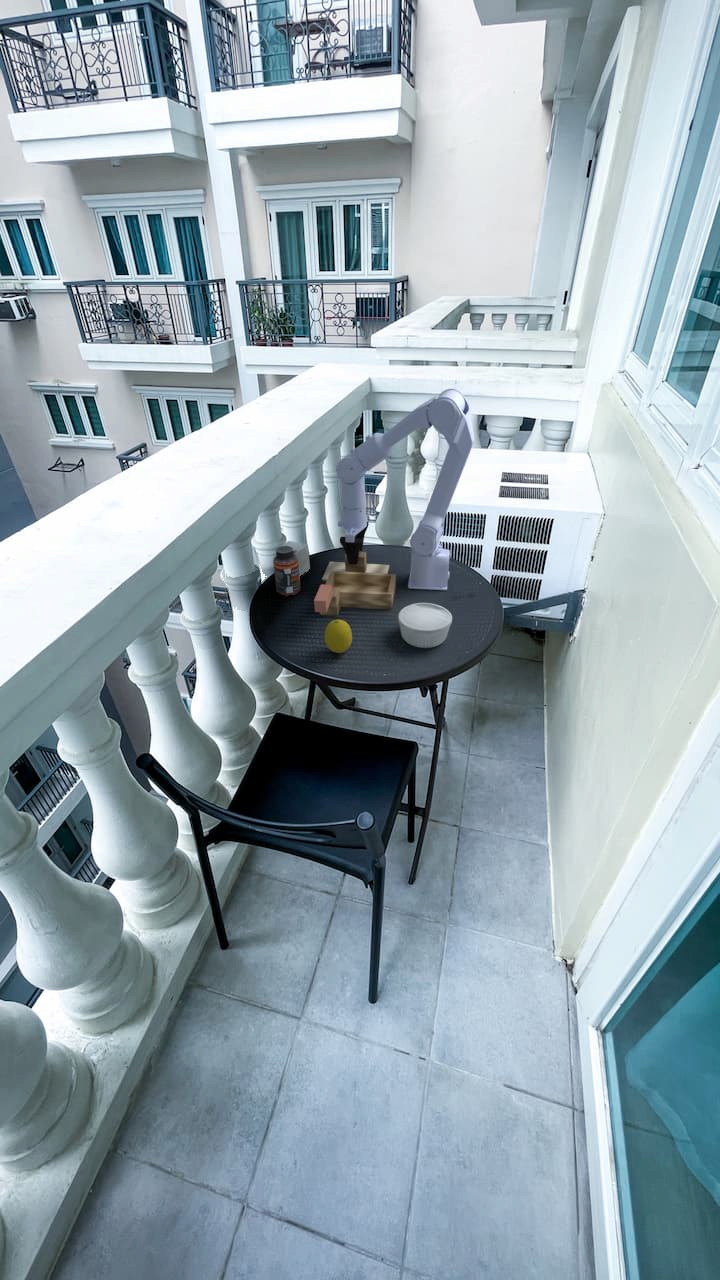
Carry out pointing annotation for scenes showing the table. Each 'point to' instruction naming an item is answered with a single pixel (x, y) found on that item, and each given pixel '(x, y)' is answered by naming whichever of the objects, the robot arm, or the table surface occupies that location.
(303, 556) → the skincare box
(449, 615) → the ramekin
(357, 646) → the table surface
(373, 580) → the beige wooden shallow box
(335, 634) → the lemon
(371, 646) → the table surface
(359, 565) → the lid
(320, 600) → the reddish-pink rectangular block
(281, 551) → the supplement bottle
